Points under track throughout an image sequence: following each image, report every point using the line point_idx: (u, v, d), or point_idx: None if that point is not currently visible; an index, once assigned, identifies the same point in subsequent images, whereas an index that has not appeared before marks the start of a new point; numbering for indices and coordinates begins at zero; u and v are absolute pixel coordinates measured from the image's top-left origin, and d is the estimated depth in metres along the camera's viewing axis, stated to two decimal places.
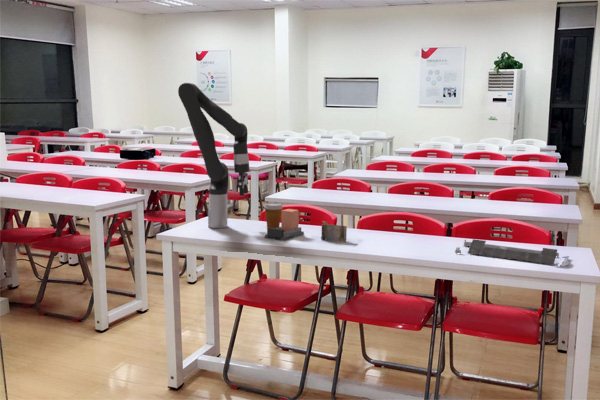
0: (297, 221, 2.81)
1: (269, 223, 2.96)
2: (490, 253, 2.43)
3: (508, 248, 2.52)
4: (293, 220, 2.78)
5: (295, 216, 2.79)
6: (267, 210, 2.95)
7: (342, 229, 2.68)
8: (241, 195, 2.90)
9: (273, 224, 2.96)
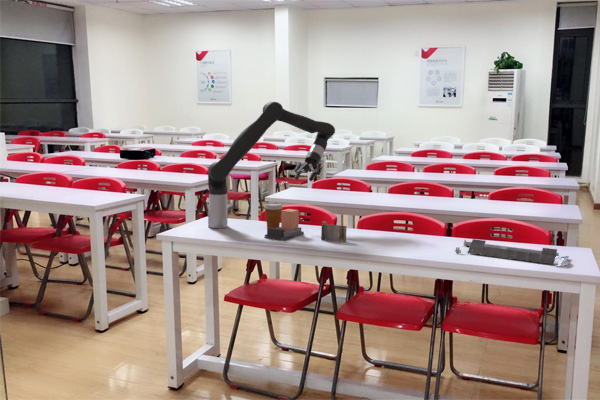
0: (297, 221, 2.81)
1: (269, 223, 2.96)
2: (490, 253, 2.43)
3: (508, 248, 2.52)
4: (293, 220, 2.78)
5: (295, 216, 2.79)
6: (267, 210, 2.95)
7: (342, 229, 2.68)
8: (310, 179, 2.90)
9: (273, 224, 2.96)
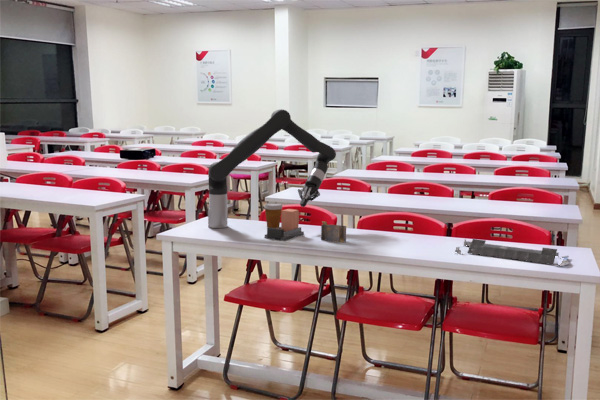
0: (297, 221, 2.81)
1: (269, 223, 2.96)
2: (489, 252, 2.43)
3: (508, 248, 2.53)
4: (293, 220, 2.78)
5: (295, 216, 2.79)
6: (267, 210, 2.95)
7: (342, 229, 2.68)
8: (303, 205, 2.89)
9: (273, 224, 2.96)
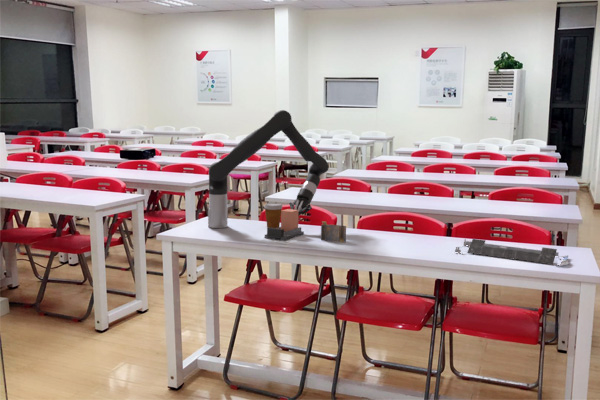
0: (297, 221, 2.81)
1: (269, 223, 2.96)
2: (489, 252, 2.44)
3: (508, 248, 2.53)
4: (293, 220, 2.77)
5: (294, 216, 2.78)
6: (267, 210, 2.95)
7: (342, 229, 2.68)
8: None
9: (273, 224, 2.96)
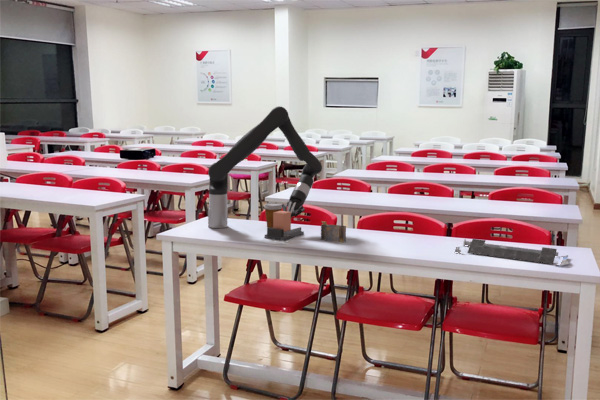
0: (289, 223, 2.75)
1: (269, 223, 2.96)
2: (489, 252, 2.44)
3: (508, 247, 2.53)
4: (285, 222, 2.72)
5: (287, 218, 2.73)
6: (267, 210, 2.95)
7: (341, 229, 2.68)
8: None
9: None
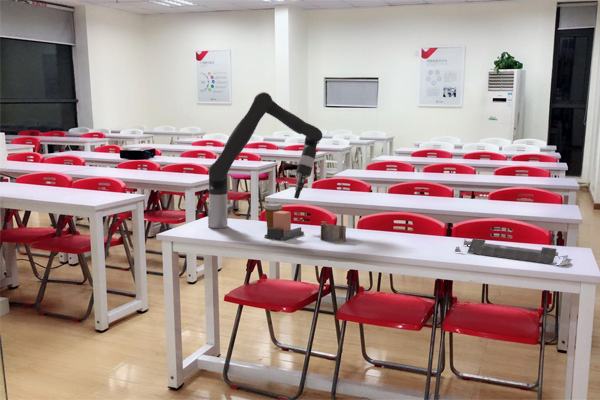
0: (289, 223, 2.75)
1: (269, 223, 2.96)
2: (489, 252, 2.44)
3: (508, 247, 2.53)
4: (285, 222, 2.72)
5: (287, 218, 2.73)
6: (267, 210, 2.95)
7: (341, 229, 2.68)
8: (296, 197, 2.91)
9: None
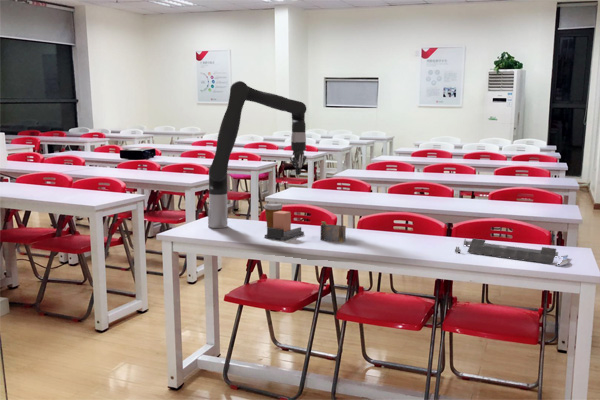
0: (289, 223, 2.75)
1: (269, 223, 2.96)
2: (489, 252, 2.44)
3: (508, 247, 2.54)
4: (285, 222, 2.72)
5: (287, 218, 2.73)
6: (267, 210, 2.95)
7: (341, 229, 2.68)
8: (297, 174, 3.00)
9: None
